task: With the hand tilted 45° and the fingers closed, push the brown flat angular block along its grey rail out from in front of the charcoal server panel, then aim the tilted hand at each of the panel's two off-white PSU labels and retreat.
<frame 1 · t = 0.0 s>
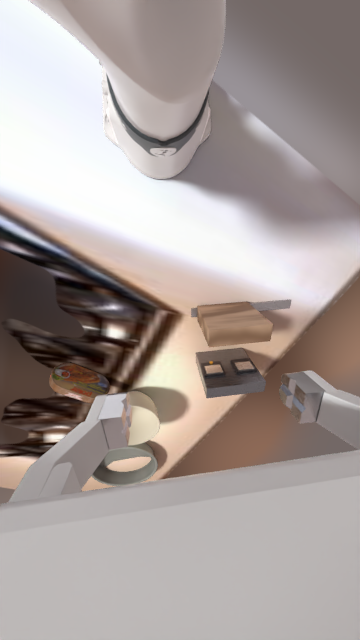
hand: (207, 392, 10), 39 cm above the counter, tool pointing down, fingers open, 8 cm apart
psu panel: (219, 354, 58), on the counter
tin: (86, 372, 56), on the counter
cake pan: (125, 455, 75), on the counter
brown flat angular block: (230, 321, 45), point 7 cm above the counter, slide at 0.0 cm
bowl: (134, 397, 62), on the counter
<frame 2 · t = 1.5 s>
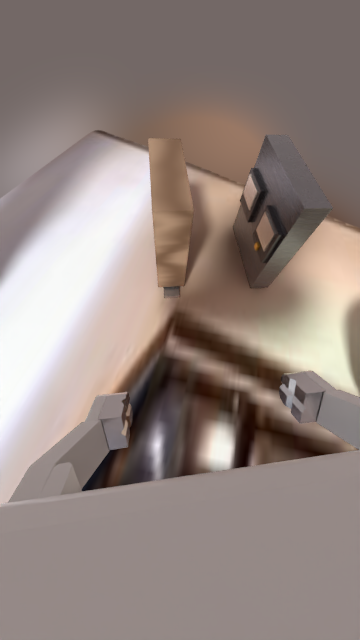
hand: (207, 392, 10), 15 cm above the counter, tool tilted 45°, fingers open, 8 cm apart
psu panel: (249, 254, 35), on the counter
brown flat angular block: (168, 221, 27), point 7 cm above the counter, slide at 0.0 cm
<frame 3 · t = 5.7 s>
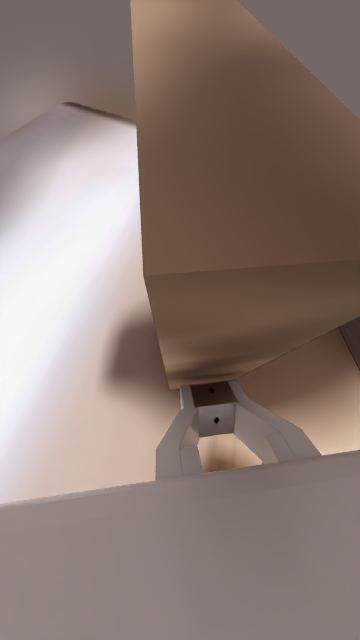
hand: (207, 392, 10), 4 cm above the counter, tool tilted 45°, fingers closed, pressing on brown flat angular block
psu panel: (341, 300, 18), on the counter
brown flat angular block: (192, 249, 11), point 7 cm above the counter, slide at 0.4 cm, touching gripper
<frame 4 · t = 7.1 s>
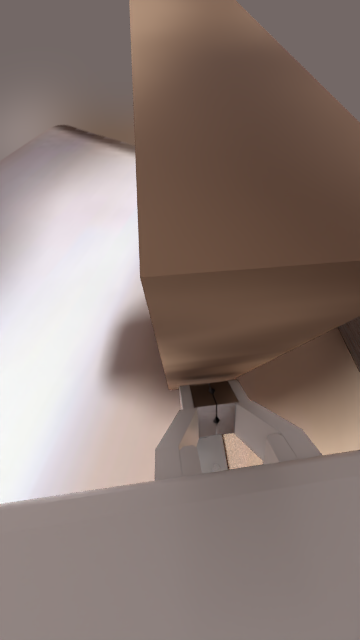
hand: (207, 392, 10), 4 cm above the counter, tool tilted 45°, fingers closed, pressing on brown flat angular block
brown flat angular block: (192, 249, 11), point 7 cm above the counter, slide at 8.5 cm, touching gripper
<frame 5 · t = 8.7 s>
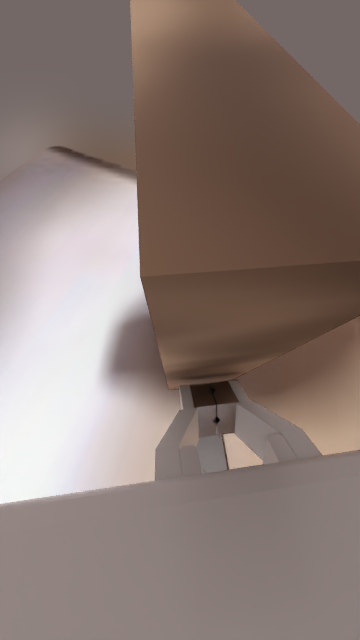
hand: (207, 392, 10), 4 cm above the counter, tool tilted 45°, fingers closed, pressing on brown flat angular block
brown flat angular block: (192, 249, 11), point 7 cm above the counter, slide at 14.6 cm, touching gripper
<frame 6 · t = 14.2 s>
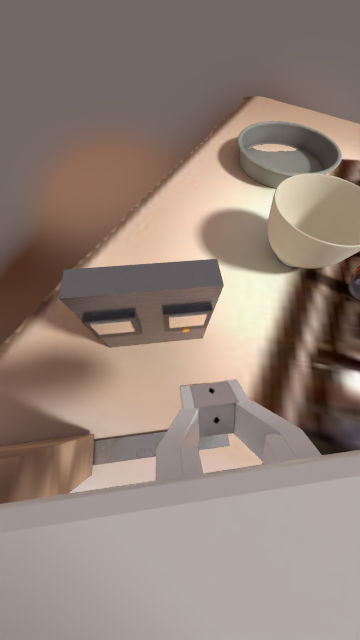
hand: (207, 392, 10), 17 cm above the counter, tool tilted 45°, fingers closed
psu panel: (156, 333, 30), on the counter
cake pan: (279, 166, 51), on the counter
bowl: (291, 255, 38), on the counter
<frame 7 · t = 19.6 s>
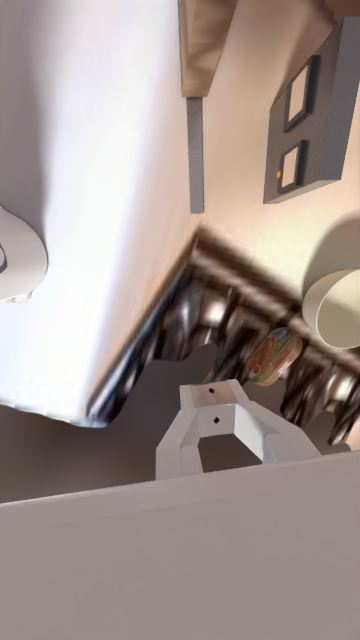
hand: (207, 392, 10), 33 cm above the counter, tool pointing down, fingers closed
psu panel: (274, 159, 35), on the counter
tin: (262, 348, 49), on the counter
bowl: (316, 298, 46), on the counter
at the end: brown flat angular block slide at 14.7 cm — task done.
